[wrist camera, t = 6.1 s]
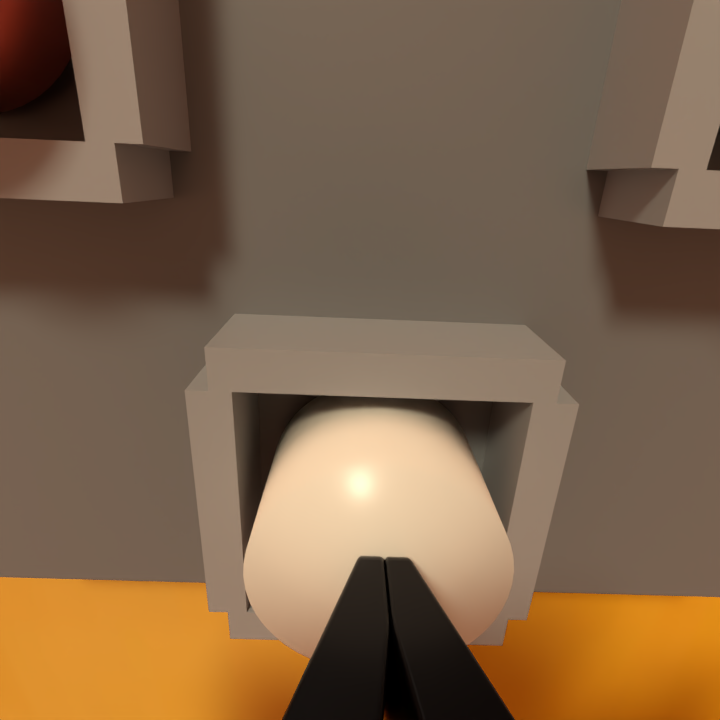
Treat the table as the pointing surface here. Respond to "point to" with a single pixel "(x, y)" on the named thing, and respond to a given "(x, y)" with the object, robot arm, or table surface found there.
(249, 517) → the control panel
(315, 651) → the robot arm
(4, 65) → the red button
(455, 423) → the cream button
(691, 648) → the table surface
